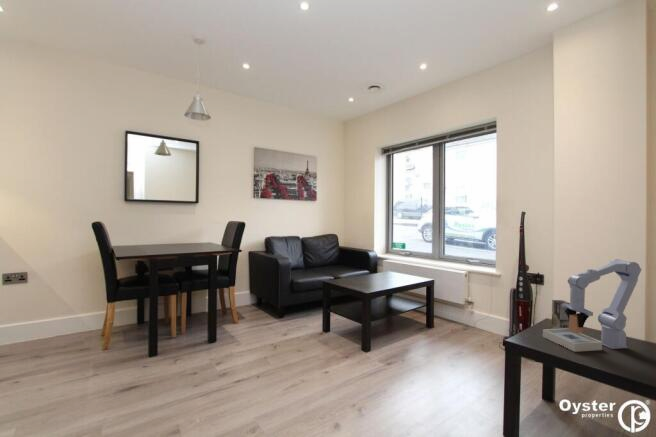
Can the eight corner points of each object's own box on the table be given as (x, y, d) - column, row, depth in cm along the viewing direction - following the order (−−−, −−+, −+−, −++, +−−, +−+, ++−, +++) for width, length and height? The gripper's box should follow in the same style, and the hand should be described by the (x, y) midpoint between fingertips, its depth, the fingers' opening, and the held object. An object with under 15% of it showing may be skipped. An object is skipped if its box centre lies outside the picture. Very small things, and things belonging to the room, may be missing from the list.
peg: (575, 329, 160) (576, 314, 160) (583, 332, 156) (583, 317, 156) (568, 330, 159) (569, 314, 159) (576, 333, 155) (577, 317, 155)
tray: (568, 335, 170) (568, 328, 170) (602, 349, 152) (602, 341, 152) (542, 336, 167) (543, 329, 167) (574, 351, 150) (574, 343, 149)
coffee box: (572, 333, 173) (573, 304, 173) (559, 332, 175) (560, 303, 174) (563, 327, 182) (564, 300, 182) (551, 326, 184) (551, 299, 183)
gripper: (557, 295, 164) (556, 320, 164) (584, 303, 149) (583, 331, 149) (568, 295, 165) (568, 320, 165) (596, 303, 150) (595, 330, 151)
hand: (576, 325), depth 157 cm, fingers closed on peg, 4 cm apart
